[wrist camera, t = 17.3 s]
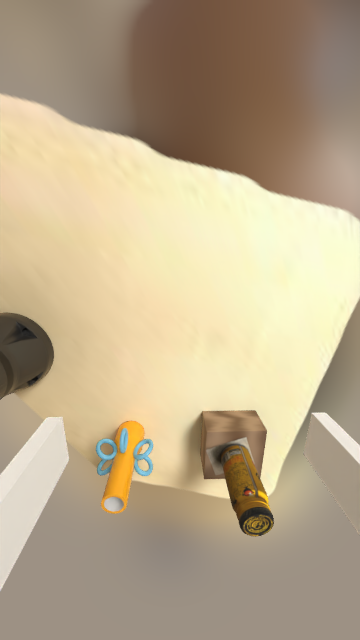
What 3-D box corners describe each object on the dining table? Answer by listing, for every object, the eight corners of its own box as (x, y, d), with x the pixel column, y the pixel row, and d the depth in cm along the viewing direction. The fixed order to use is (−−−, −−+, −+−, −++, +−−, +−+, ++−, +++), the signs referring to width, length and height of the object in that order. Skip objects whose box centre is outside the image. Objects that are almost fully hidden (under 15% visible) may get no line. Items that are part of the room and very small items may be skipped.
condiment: (254, 463, 44) (284, 534, 32) (215, 474, 44) (231, 549, 33) (245, 436, 42) (274, 502, 30) (205, 448, 42) (218, 518, 31)
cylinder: (166, 425, 48) (164, 496, 33) (144, 457, 50) (132, 536, 35) (117, 402, 46) (92, 466, 31) (96, 436, 48) (64, 512, 33)
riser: (200, 454, 50) (204, 479, 44) (202, 411, 47) (206, 432, 41) (250, 453, 51) (260, 477, 45) (255, 410, 47) (266, 430, 42)
